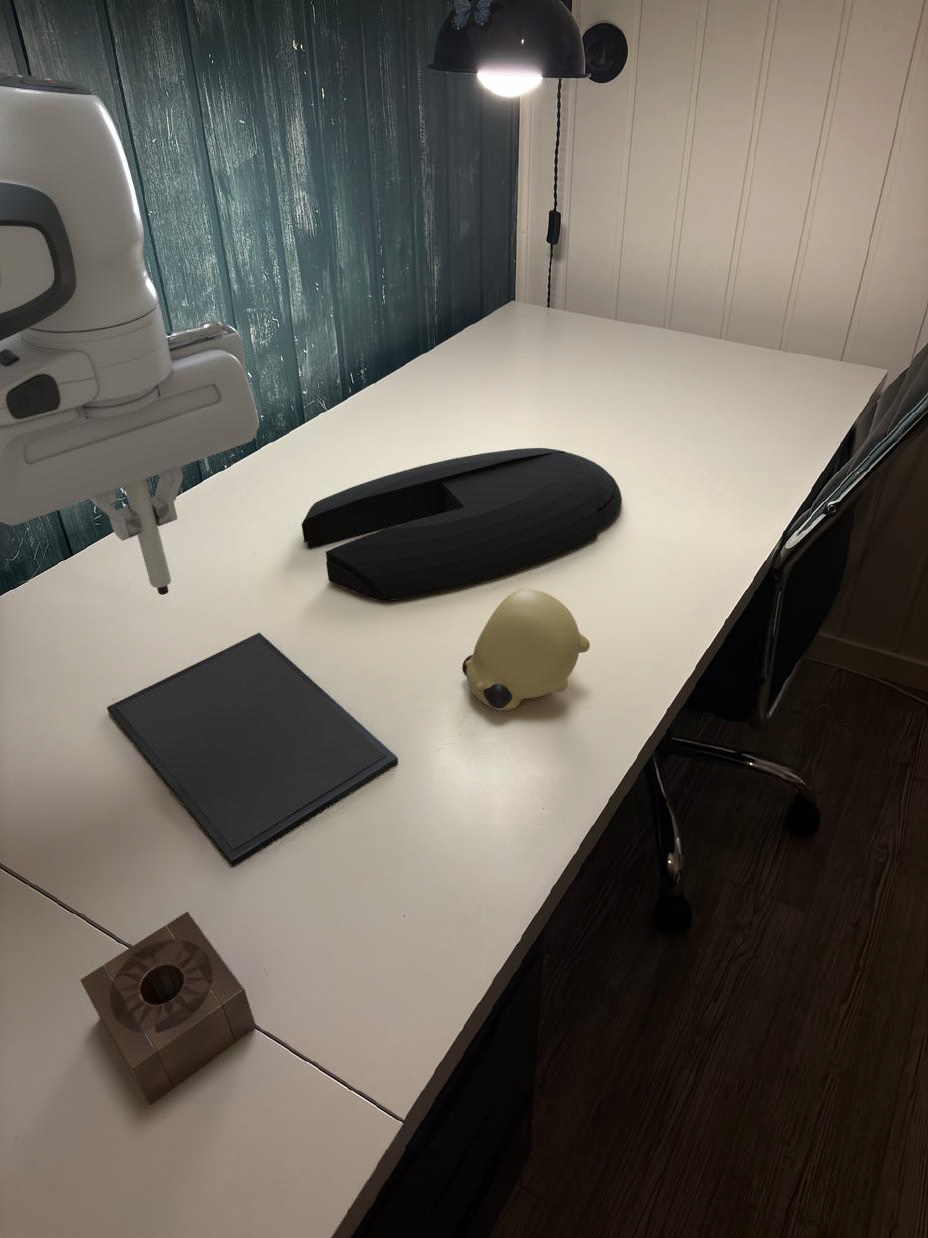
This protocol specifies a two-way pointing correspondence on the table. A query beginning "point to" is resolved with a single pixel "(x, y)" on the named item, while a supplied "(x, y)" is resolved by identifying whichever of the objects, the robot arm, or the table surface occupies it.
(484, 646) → the toy pig
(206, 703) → the tablet
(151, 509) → the stylus
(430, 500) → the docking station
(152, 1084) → the pen block
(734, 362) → the table surface
